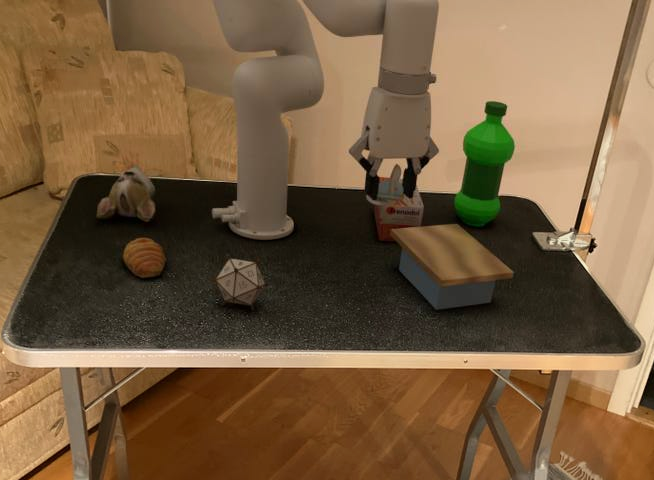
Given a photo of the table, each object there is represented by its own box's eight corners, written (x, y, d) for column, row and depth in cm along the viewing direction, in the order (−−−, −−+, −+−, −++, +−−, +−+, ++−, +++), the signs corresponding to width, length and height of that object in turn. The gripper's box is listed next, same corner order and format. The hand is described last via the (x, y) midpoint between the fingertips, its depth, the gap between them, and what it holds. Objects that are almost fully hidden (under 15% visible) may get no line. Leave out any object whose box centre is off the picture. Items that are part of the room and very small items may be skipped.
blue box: (436, 309, 128) (441, 278, 124) (398, 269, 139) (402, 240, 135) (490, 302, 132) (497, 272, 129) (450, 264, 143) (455, 235, 140)
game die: (228, 320, 124) (202, 264, 123) (275, 299, 126) (250, 244, 124) (229, 322, 116) (201, 262, 114) (280, 300, 117) (253, 240, 115)
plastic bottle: (506, 229, 160) (532, 112, 146) (463, 232, 156) (485, 112, 143) (483, 210, 168) (506, 97, 154) (442, 213, 164) (461, 96, 150)
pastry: (172, 278, 126) (171, 258, 124) (130, 283, 123) (128, 262, 121) (160, 254, 133) (159, 234, 131) (121, 257, 130) (119, 237, 128)
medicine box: (419, 244, 149) (425, 207, 144) (378, 242, 148) (383, 204, 143) (410, 214, 161) (415, 178, 157) (372, 211, 160) (376, 175, 156)
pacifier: (364, 207, 119) (402, 211, 119) (367, 169, 115) (406, 173, 115) (366, 190, 125) (402, 194, 125) (369, 154, 121) (406, 157, 121)
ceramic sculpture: (163, 159, 147) (149, 192, 135) (166, 199, 152) (153, 234, 140) (107, 154, 146) (88, 187, 134) (112, 195, 151) (94, 231, 139)
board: (440, 286, 122) (442, 280, 121) (389, 235, 137) (390, 229, 136) (512, 278, 128) (513, 272, 127) (456, 229, 142) (457, 223, 142)
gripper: (442, 75, 118) (426, 185, 128) (340, 74, 111) (331, 190, 121) (465, 89, 112) (446, 202, 122) (359, 88, 106) (348, 208, 116)
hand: (389, 195), depth 122 cm, fingers closed on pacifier, 5 cm apart
